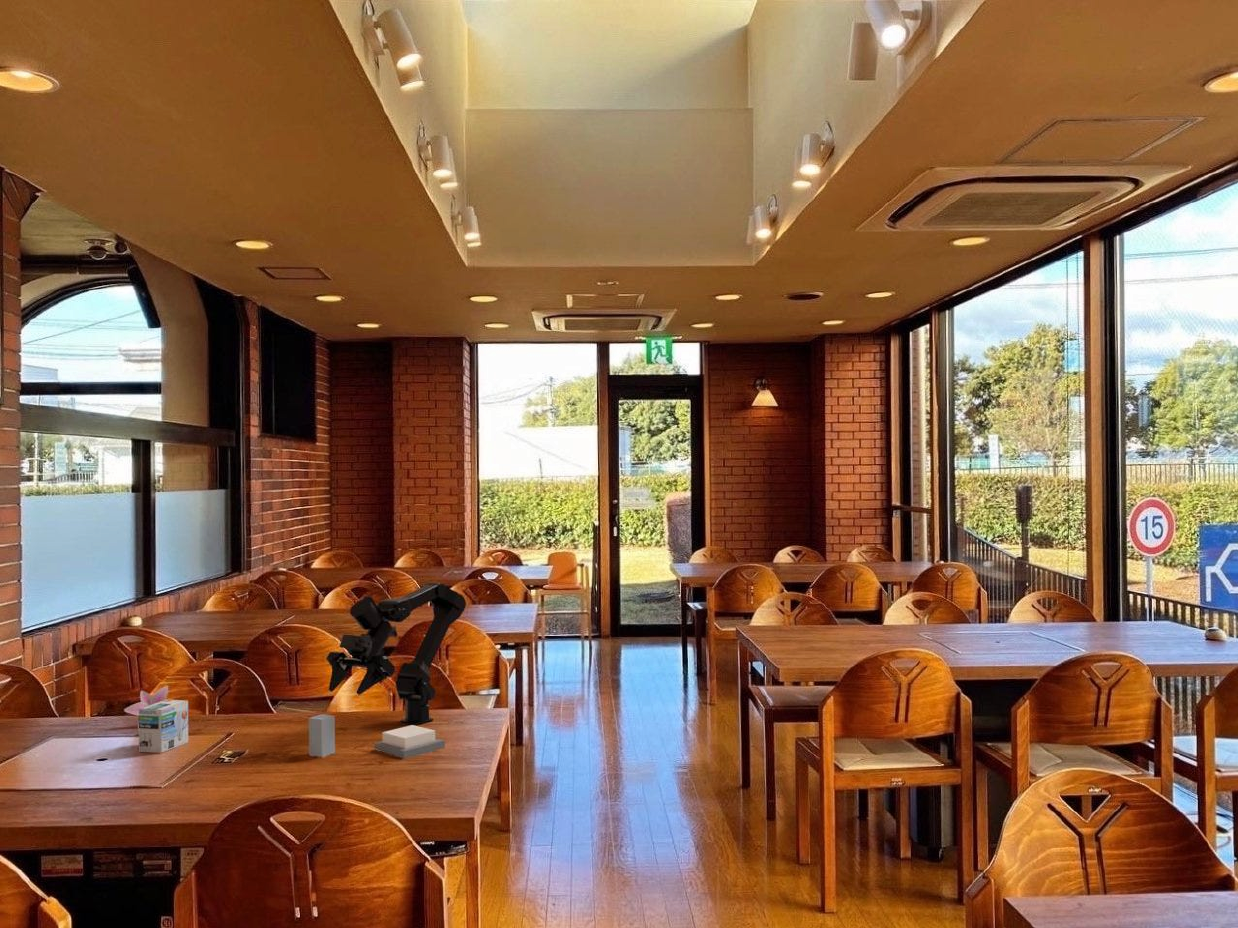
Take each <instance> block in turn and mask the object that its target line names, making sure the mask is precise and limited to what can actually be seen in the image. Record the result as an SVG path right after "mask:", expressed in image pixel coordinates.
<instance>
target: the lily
mask: <svg viewBox="0 0 1238 928" xmlns="http://www.w3.org/2000/svg"><path fill="white" fill-rule="evenodd" d="M139 693H140V697H139V698H140V702H136V703H134V704H130V705H129V706H127V707H125V708H124V709H123V711H124V712H125V713H127V714H132V715H133V716H134V715H135V716H138V717H139V709H140V708H143V707H146V706H149V705H152V704H155V703H158V702H161V701H164V700H168V699H167V697H168V693H169V685H165V686H163V687H161V688H160V689H158V690H156V692H155V693H153V694H150V693H148V692H146V691H144V690H141V691H140V692H139ZM137 729H138V730H139V722H138V724H137Z"/></svg>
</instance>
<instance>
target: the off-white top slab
mask: <svg viewBox="0 0 1238 928" xmlns="http://www.w3.org/2000/svg"><path fill="white" fill-rule="evenodd" d="M381 735H382V736H381V737H382V739H381V741H383V743H385V744H389V745H393V746H397V747H400V748H404V749H407V748H410V747H414V746H418V745H422V744H425V743H429V742H433V741H435V738H436V730H435V729H430V728H426V727H424V726H422V727H421V726H417V725H413V724H410V725H407V726H403V727H399V728H395V729H390V730H386V731H383V732H382V734H381Z"/></svg>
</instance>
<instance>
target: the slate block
mask: <svg viewBox="0 0 1238 928" xmlns="http://www.w3.org/2000/svg"><path fill="white" fill-rule="evenodd" d="M335 718H336V716H335V715H331V714H324V713H321V714H317V715H315V716H312V717H308V756H309V755H310V757H314V756H318V757H317V758H320V757H323V758H325V756H326V757H328V756H327V755H329V756H331V755H330V754H332V755H334V754H336V733H335V732H336V730H335V729H336V727H335V726H336V725H335V724H336V723H335V722H336V721H335ZM333 753H334V754H333Z"/></svg>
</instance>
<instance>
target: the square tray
mask: <svg viewBox="0 0 1238 928" xmlns="http://www.w3.org/2000/svg"><path fill="white" fill-rule="evenodd" d="M445 747H446V741H445V740H444V739H439V738H437V737H435V741H433V742H429V743H425V744H422V745H418V746H414V747H410V748H407V749H404V748H400V747H397V746H393V745H389V744H385V743H383V740H381V741H378V742H374V750H375V749H377V750H380V751H383V752H385V753H384V754H386V753H389V754H391V755H390V756H392V755H394V756H393V757H396V756H397V757H396V758H399V757H400V759H403V760H405V758H406V759H409V758H412V757H416V756H417V757H418V756H420V755H423V754H427V753H430V752H434V751H438V750H441V749H446V748H445ZM389 754H388V755H389Z"/></svg>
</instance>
